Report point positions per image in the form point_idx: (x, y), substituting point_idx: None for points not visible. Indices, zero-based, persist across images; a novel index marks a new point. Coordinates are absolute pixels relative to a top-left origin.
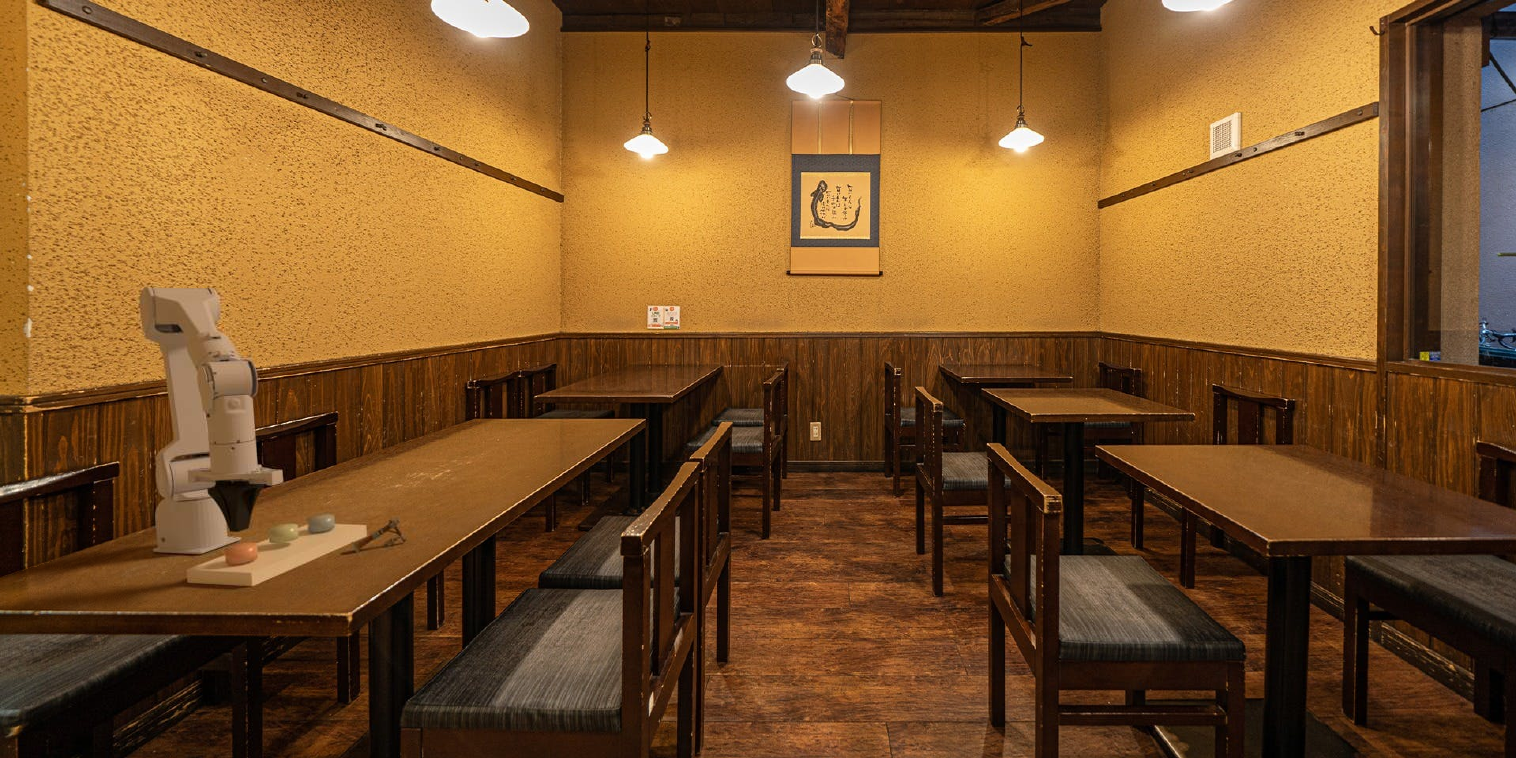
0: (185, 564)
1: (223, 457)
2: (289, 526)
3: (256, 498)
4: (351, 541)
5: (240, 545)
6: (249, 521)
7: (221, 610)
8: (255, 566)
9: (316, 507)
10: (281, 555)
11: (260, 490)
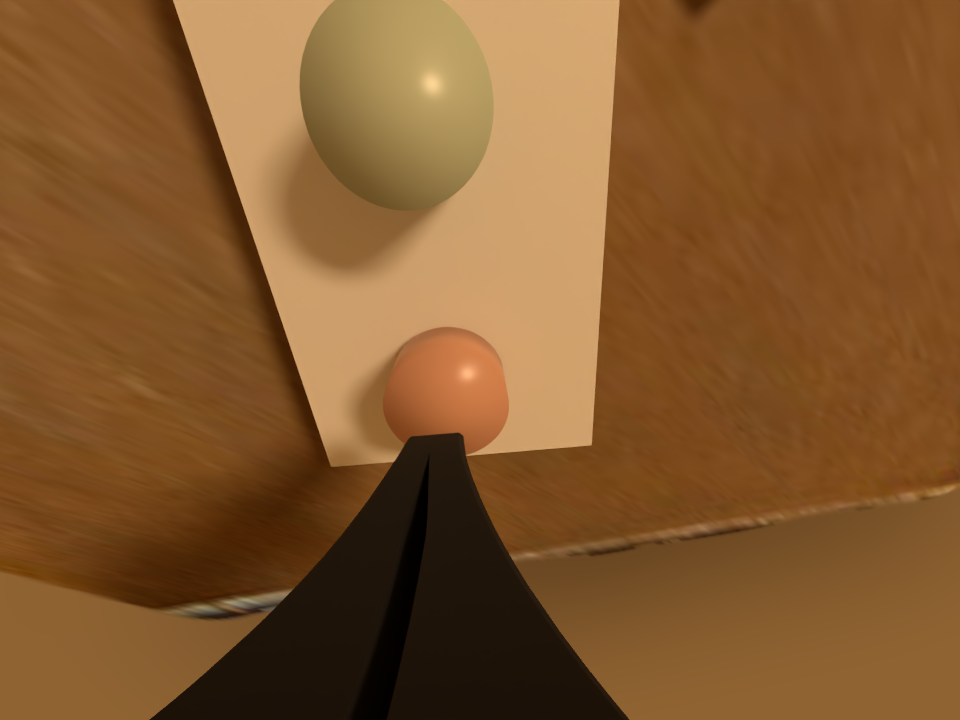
0: (98, 311)
1: None
2: (426, 74)
3: (531, 593)
4: None
5: (425, 396)
6: (465, 457)
7: (630, 531)
8: (550, 398)
9: None
10: (545, 272)
11: (590, 680)
